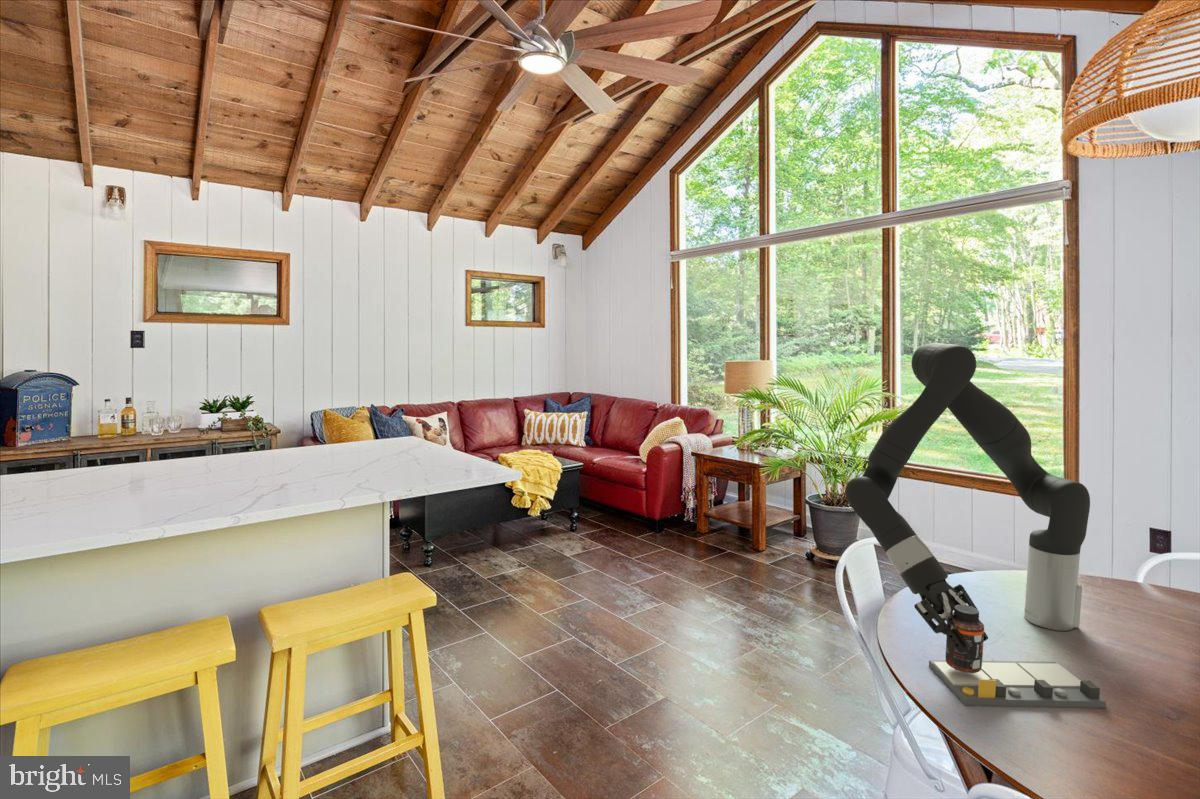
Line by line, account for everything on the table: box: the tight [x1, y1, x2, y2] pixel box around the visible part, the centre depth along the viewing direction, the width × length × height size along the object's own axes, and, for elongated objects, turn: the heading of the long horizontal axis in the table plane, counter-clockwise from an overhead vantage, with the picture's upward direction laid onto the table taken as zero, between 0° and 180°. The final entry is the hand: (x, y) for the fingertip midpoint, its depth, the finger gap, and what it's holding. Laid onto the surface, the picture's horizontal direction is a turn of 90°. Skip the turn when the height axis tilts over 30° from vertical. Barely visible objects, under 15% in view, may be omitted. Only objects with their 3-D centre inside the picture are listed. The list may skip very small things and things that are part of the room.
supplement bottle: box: [945, 604, 985, 673], centre depth 115 cm, size 6×6×11 cm
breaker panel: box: [928, 659, 1107, 709], centre depth 113 cm, size 24×13×4 cm, turn 87°
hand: (974, 645), depth 113 cm, fingers closed on supplement bottle, 6 cm apart
